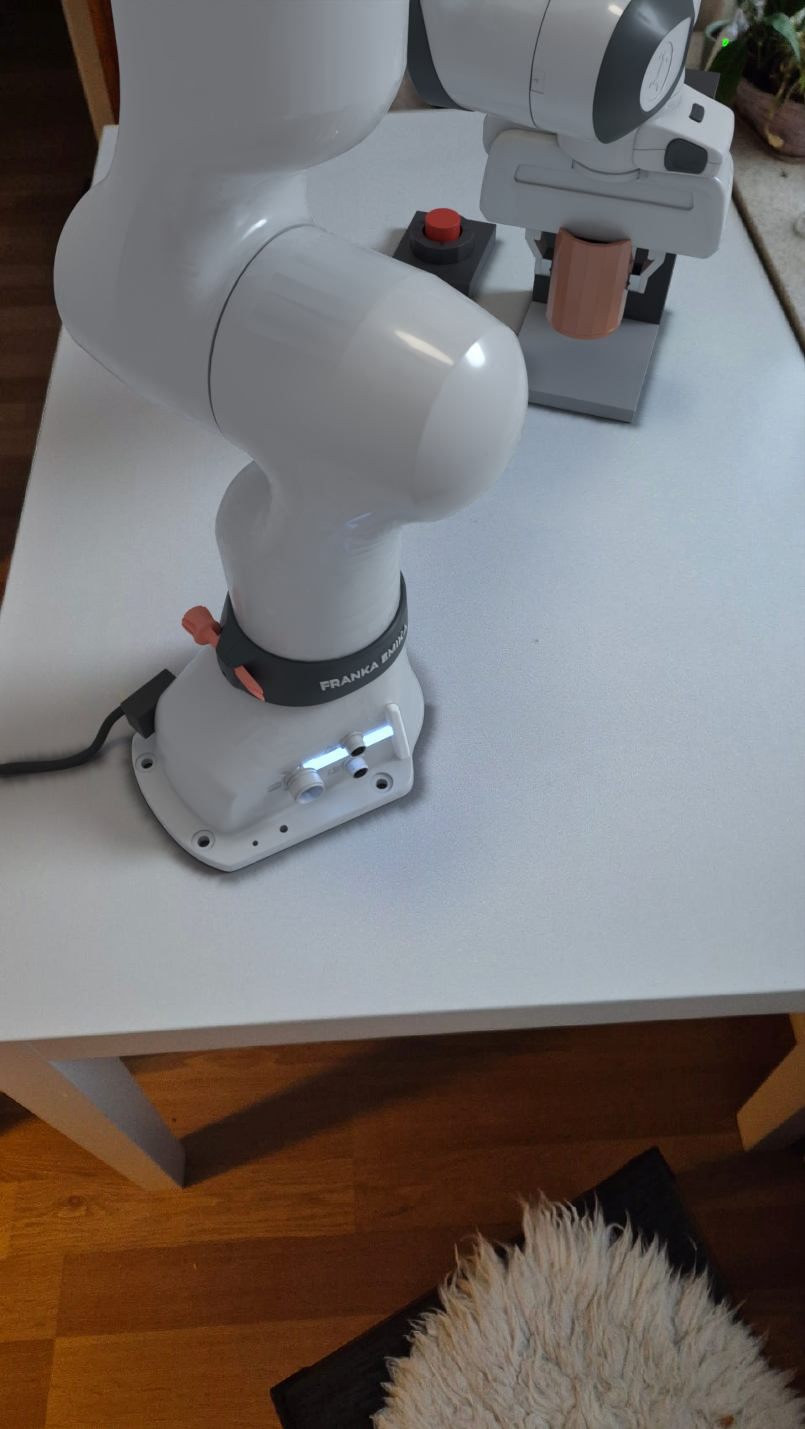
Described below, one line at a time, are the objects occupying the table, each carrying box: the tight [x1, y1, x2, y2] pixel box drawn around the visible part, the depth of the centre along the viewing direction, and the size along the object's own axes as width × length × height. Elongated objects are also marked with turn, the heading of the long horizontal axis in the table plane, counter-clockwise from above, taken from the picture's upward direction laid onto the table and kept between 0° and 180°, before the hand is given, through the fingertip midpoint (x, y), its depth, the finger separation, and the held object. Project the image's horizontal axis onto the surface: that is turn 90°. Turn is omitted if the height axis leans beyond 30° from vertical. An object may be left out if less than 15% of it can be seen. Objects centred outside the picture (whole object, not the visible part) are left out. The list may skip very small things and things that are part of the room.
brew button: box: [425, 207, 460, 242], centre depth 104 cm, size 4×4×2 cm
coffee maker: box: [517, 67, 721, 424], centre depth 90 cm, size 17×13×23 cm
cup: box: [546, 227, 637, 340], centre depth 88 cm, size 7×7×9 cm
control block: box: [391, 210, 498, 299], centre depth 106 cm, size 11×9×4 cm
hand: (590, 280), depth 88 cm, fingers closed on cup, 7 cm apart
